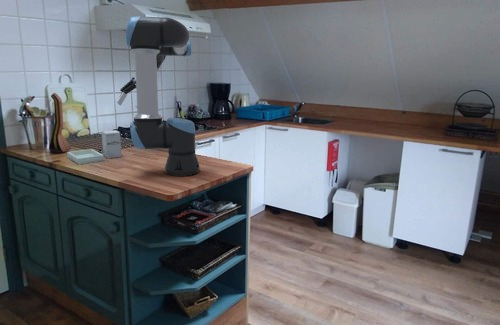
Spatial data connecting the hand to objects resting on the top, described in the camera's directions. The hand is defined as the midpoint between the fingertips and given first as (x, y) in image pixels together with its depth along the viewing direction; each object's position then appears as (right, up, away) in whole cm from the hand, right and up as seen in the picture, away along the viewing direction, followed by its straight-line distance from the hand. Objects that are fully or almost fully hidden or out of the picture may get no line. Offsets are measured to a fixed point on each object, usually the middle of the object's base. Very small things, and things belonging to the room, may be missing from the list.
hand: (127, 105), depth 199 cm
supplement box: (-7, -26, -2) cm, 27 cm away
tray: (-18, -27, -8) cm, 34 cm away
